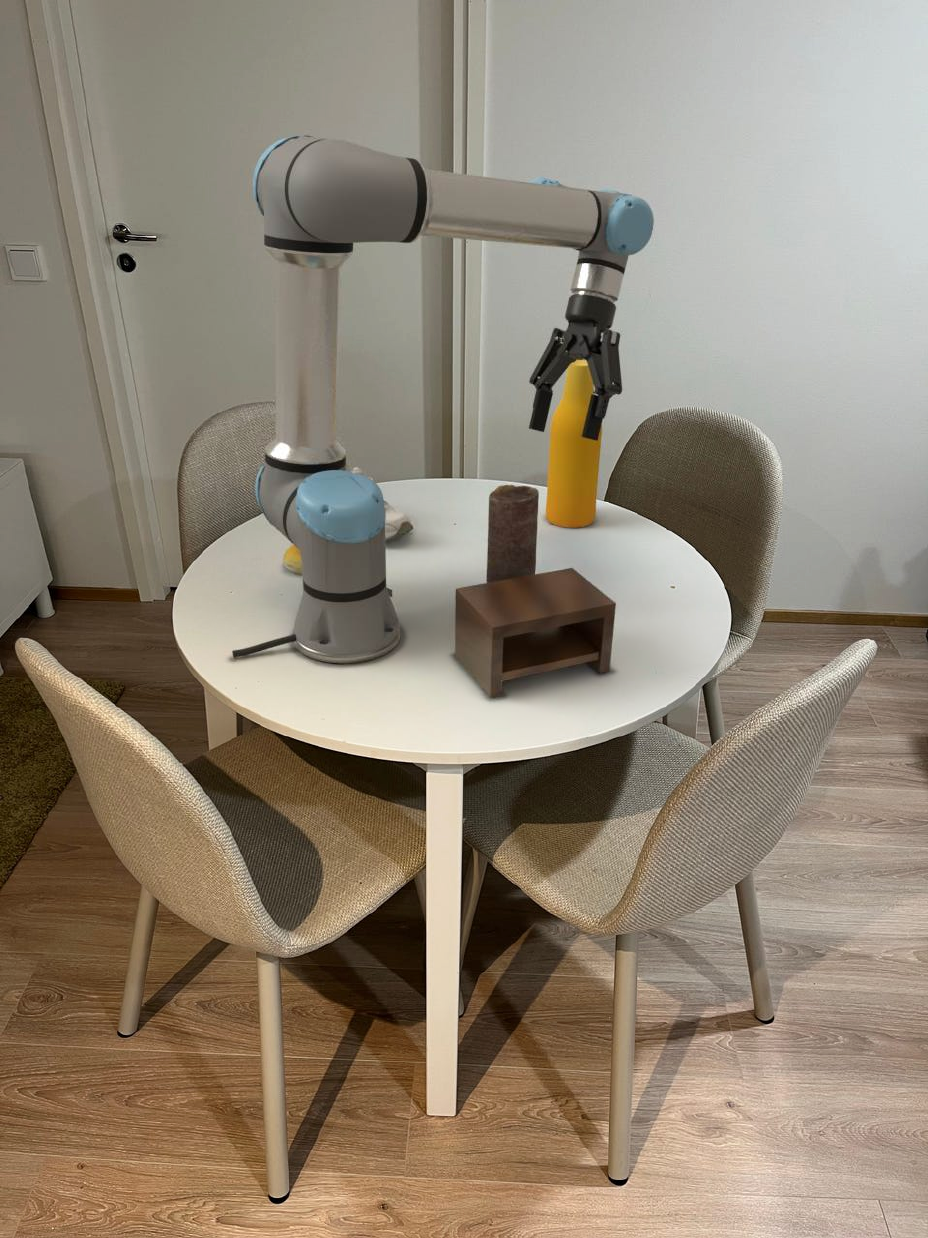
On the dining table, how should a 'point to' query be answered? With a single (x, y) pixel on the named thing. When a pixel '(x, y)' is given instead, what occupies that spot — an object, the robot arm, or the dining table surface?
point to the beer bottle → (573, 454)
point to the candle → (512, 532)
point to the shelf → (532, 626)
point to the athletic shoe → (392, 518)
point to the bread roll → (293, 560)
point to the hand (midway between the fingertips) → (561, 434)
